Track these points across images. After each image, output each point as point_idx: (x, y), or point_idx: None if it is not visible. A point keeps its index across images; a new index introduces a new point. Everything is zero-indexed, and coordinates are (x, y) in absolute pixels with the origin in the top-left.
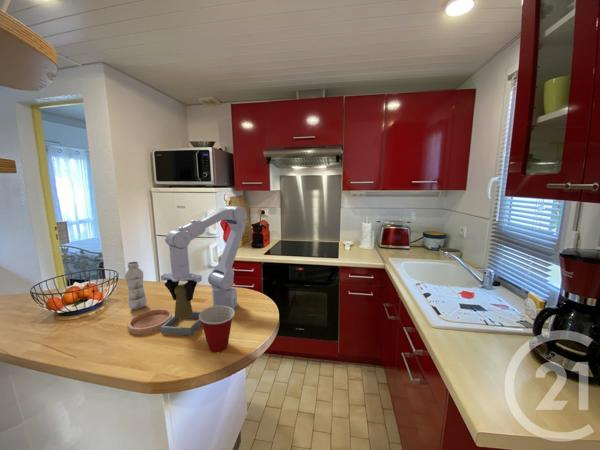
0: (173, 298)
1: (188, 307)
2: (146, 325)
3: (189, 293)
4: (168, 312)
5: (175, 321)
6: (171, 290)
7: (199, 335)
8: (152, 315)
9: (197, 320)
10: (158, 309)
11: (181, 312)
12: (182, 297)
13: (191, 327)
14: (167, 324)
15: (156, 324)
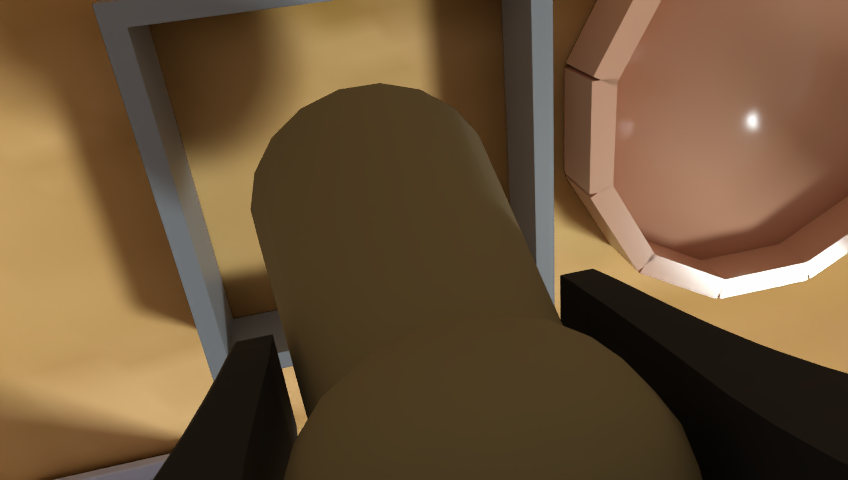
0: (605, 281)
1: (269, 258)
2: (772, 18)
3: (158, 477)
4: (672, 258)
5: (512, 176)
6: (745, 384)
7: (11, 28)
8: (812, 192)
9: (180, 209)
10: (804, 264)
11: (329, 138)
12: (362, 330)
13: (118, 46)
14: (523, 49)
15: (653, 7)
